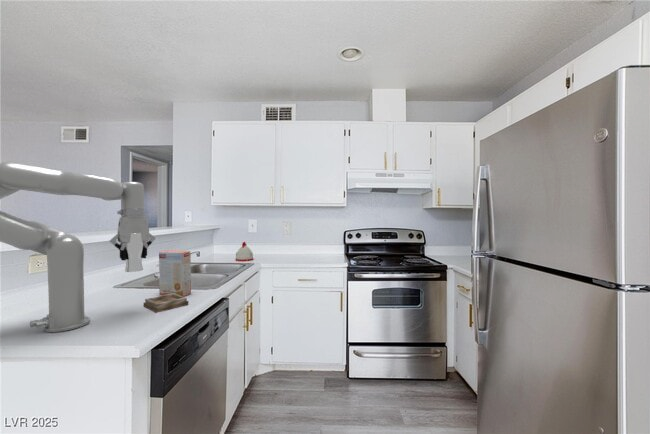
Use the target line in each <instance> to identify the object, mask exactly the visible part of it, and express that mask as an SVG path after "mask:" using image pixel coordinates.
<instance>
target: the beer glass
mask: <svg viewBox="0 0 650 434" xmlns="http://www.w3.org/2000/svg"><path fill="white" fill-rule="evenodd" d="M143 248H144V242H142V238H141V233H131V238H130V242H129V243H125V250H126V260H125V269H124V272H125V273H134V272H141V271H143V270H144V267H143V263H142V261H143V260H142V259H143V258H142V254H143Z"/></svg>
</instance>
